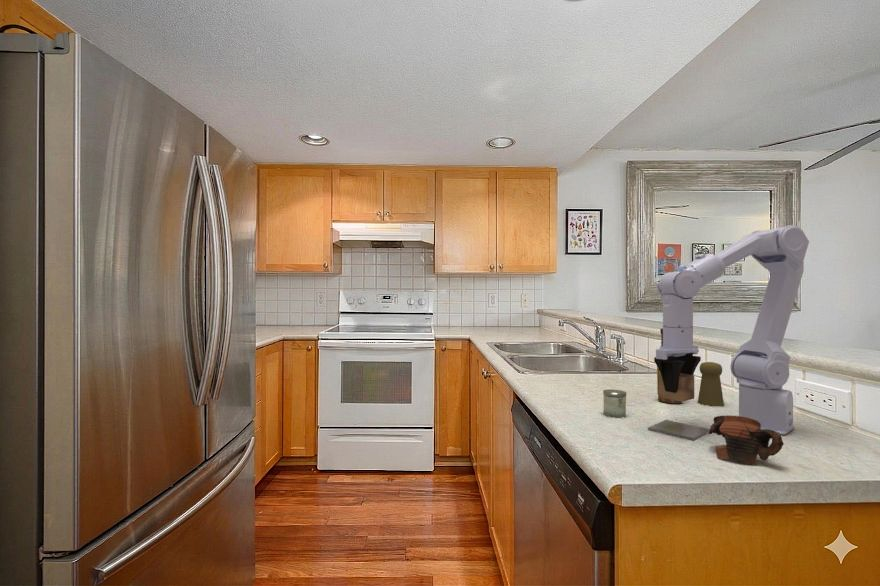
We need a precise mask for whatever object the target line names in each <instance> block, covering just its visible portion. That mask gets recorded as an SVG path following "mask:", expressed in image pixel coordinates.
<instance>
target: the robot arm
mask: <svg viewBox="0 0 880 586" xmlns="http://www.w3.org/2000/svg"><path fill="white" fill-rule="evenodd" d="M809 243H810V240H809V239H808V237H807V235H806V234H805V232H804V231H803V229H802V228H800V227H799V226H798V225H795V224H789V225H786V226H782V227H775V228H770V229H764V230H755V231H752V232H751V233H749V234H746V235H743V236H742V238H740V239H739V240H737V241H735V242H734V243H731V245H729V246H727V247H725V248H724V249H723V250H721V251H719V252H718V253H716V254H713V253H701V254H700V253H699V254H697V255H696V256H695V259H694V260H693V261H690V262H689V263H686V264H681V265H679V266H678V267H677V269H676V271H669V272H666V273H664V274H663V275H662V276H661V278H660V279H659V283H658V284H656V289H657V292H658V293H659V295H660V297H661V303H662V328H663V346H662V347H661V346H660V347H661V348H660V347H659V348H657V349H655V357H654V358H653V362H654V363H655V365H656V368H657V367H658V369H659V371H660V373H661V376H662V380H663V384H664V387H665V391H667V392H673V393H676V392H677V389H678V384H679V376H680V373H683V374H689V375H694V374H695V371H696V368H697V367H698V365H700V363H701V360H702V359H701V356H698V354H699V352H700V351H699V350H700V349H699V346H698V345H695V344H694V297H696V296H697V295H698V294H699V292H700V289H701V288H703V287H705V286H706V285H708V284H711V283H712V282H713V281H715V280H717V279H719V278H721V277H722V276H724V273H725V269H726V268H728V267H729V266H732V265H733V264H735V263H738V262H739V261H741V260H744V259H746V258H748V257H749V256H751V258H753V259H754V260H755V261H756V262H757V263H758V264H759V265H760V266H762V267H763V268H764V269H766V270H767V271H768V272H769V274H770V276H769V279H768V282H767V286H766V288H765V292H764V295H763V299H762V301H761V302H762V303H761V306H760V309H759V312H758V315H757V319H756V322H755V326H754V328H753V332H752V336H751V338H750V339H749V340H748V341H747V342H744V343H742V344H741V345H740V346H739V348H738V351H737V353H736V354H735V355H734V357H732V359H731V362H730V365H729V366H730V371H731V374H732V375H733V377H734V378H736V383H738V416H741V417H747V418H750V419H754V420H756V421H758V422H759V423H760V424H761V429H770V430H773V431H775V432H777V433H778V434H779V435H781V436H782V435H783V436H785V435H787V434H788V433H789V432H790V431H792V430H793V429H794V428H795V427H794V396H793V395H794V394H793V392H792V391H791V390H790V389H789V390H788V389H783V386H784V385H785V384H786V383H787V382H788V380H789V377H790V367H789V364H790V359H791V356H790V355H789V353H787V352H786V351H785V350H784V349H783V347H782V344H783V341H784V338H785V334H786V331H787V327H788V324H789V321H790V317H791V314H792V311H793V308H794V304H795V302H796V297H797V294H798V292H799V288H800V284H801V280H802V278H803V274H804V263H805V262H804V259H805V257H806V253H807V249H808V247H809Z"/></svg>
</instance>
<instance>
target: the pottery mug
mask: <svg viewBox="0 0 880 586" xmlns="http://www.w3.org/2000/svg"><path fill="white" fill-rule="evenodd" d="M709 429H710V431H709V432H708V435H712V434H715V435H716V436H722V437H723V438H724V440H725V444H724V445H717V446H715V451H716V452H715V453H716V457H717V458H716V459H718V460H728V461H735V462H738V463H743V464H747V465H752V466H756V463H757V460H758V459H757V458H758V457H759V459H760V460H761V461H766V460H768V458H769V457H770V456H772V457H773V456H775V455H777V454H778V453H779V452H780V451H781V450H782V448H783V446H784V442H783V437H782V435H781V434H778V433H777V432H775V431H773V430H770V429H761V424H760V423H759V422H758V421H756V420H754V419H750V418H747V417H741V416H739V415H718V416H714V417H713V424H711V425H710V428H709ZM770 440H771V443H770V444H769V442H770Z"/></svg>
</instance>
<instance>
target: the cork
mask: <svg viewBox="0 0 880 586" xmlns="http://www.w3.org/2000/svg"><path fill="white" fill-rule="evenodd" d="M699 372H700V374H701V378H700V385H699V391H698V398H697V403H698V404H699V403H700V404H699V405H702V404H703V405H702V406H706V405H709V406H708V407H713V406H722V407H724V406H725V403H724V396H723V395H724V394H723V388H722V382H721V375H722V373H723V366H722V365H721V364H720V363H718V362H713V361H705V362H700V364H699ZM723 405H724V406H723Z"/></svg>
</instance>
